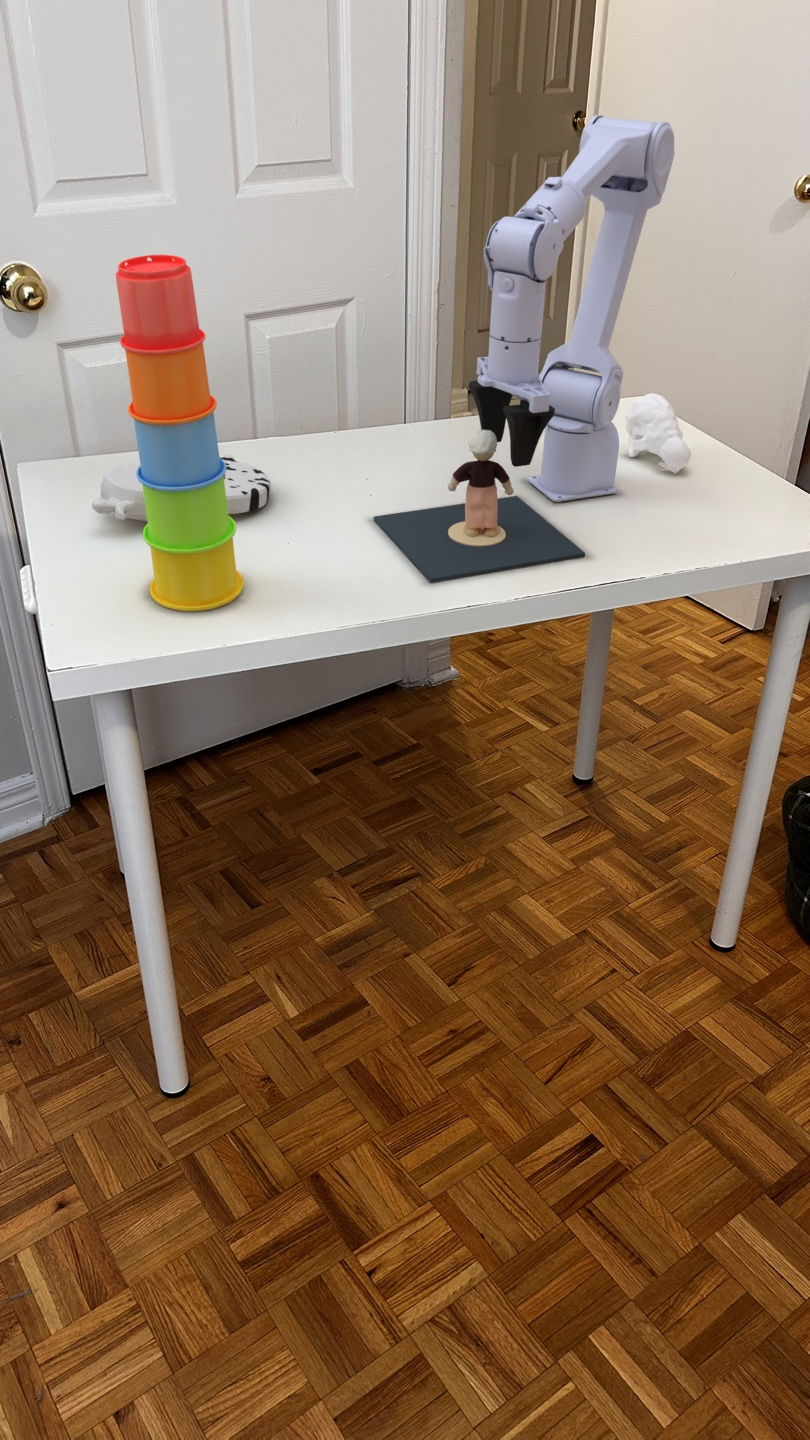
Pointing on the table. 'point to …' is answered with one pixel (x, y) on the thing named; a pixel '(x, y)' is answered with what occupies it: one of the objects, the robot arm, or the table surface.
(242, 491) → the toy
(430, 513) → the display mat
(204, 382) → the stacking cups
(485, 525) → the grandmother figurine
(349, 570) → the table surface
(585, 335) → the robot arm
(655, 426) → the white lumpy figurine
